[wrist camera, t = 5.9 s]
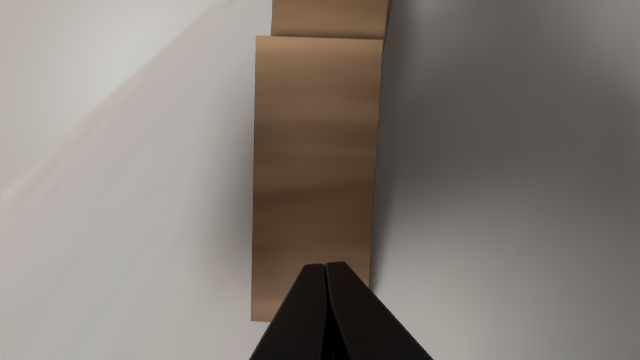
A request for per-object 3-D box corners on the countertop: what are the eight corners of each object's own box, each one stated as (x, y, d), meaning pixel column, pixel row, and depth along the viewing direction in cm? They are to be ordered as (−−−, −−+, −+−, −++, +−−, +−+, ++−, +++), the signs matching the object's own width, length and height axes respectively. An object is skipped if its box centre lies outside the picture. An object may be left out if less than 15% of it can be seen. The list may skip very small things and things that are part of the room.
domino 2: (363, 227, 15) (392, -43, 14) (257, 217, 15) (276, -52, 14) (360, 218, 16) (386, -24, 15) (264, 209, 16) (282, -33, 15)
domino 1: (366, 327, 14) (382, 39, 12) (251, 321, 14) (255, 35, 12) (362, 306, 15) (377, 50, 14) (259, 301, 15) (264, 46, 14)
